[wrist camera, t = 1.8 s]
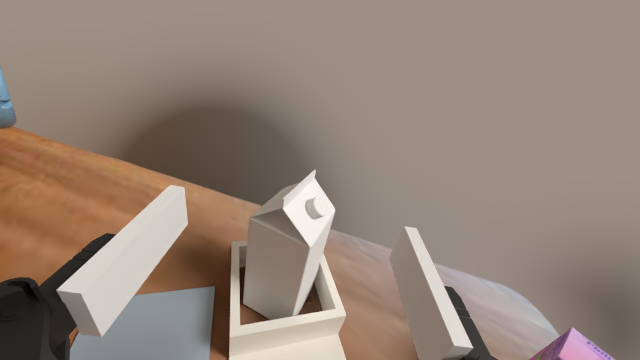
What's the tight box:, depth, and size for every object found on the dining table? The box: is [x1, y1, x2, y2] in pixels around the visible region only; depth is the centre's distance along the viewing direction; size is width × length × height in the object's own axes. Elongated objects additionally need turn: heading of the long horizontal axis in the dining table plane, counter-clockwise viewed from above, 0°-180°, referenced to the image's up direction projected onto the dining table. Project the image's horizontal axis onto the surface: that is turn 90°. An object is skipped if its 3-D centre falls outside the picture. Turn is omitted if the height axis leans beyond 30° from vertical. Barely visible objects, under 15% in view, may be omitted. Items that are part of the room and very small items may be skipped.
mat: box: [70, 286, 215, 360], centre depth 25 cm, size 13×13×1 cm
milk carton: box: [243, 170, 335, 320], centre depth 29 cm, size 7×7×19 cm
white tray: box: [229, 241, 346, 360], centre depth 33 cm, size 19×13×4 cm
